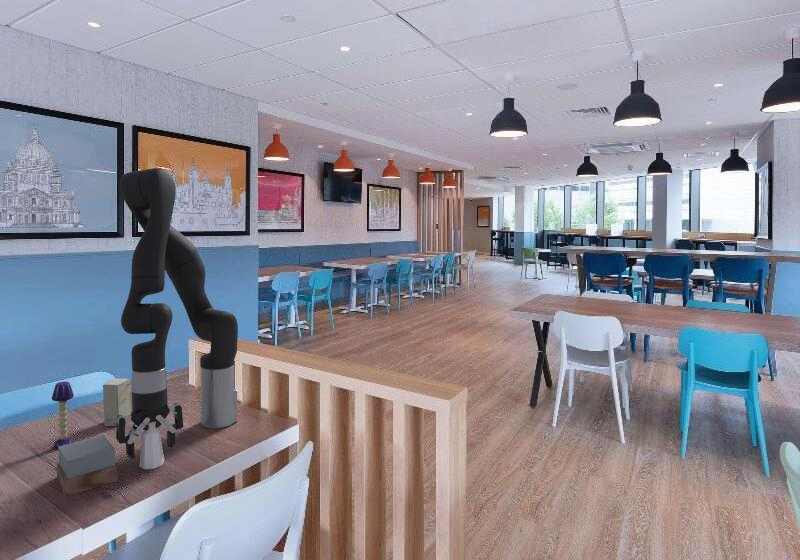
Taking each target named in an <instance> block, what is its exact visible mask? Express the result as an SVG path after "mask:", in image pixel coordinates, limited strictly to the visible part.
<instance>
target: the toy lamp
mask: <svg viewBox="0 0 800 560" xmlns="http://www.w3.org/2000/svg"><path fill="white" fill-rule="evenodd" d="M71 385H72V384H71V383H70V382H69V381H60V382H59V381H58V382H57V383H56V384H55V385H54V388H53V392H52V396H51V400H52V401H54V402H58V410H59V411H58V415H59V417H58V421H59V424H58V428H59V429H58V434H59V435H58V439H57V440H55V442H54V444H53V449H55V450H58V447H59V446H63V445H67V444H71V443H74V441H73V439H71V438H70V437H68V433H67V432H68V428H67V427H68V417H67V414H68V410H67V409H68V404H67V403H68V401H70V400H71V399H74V396H75V395H74V391H73V389H72V386H71Z"/></svg>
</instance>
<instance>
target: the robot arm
mask: <svg viewBox="0 0 800 560" xmlns="http://www.w3.org/2000/svg"><path fill="white" fill-rule="evenodd" d="M119 189H120V194H121V196H122V199H123V201H124V202H125V204H126V206H127V208H128V209H129V211H130V212H131V213H132V215H133V216H134V218H135V219H136V222H138V224H139V225H140V227H141V228H142V230H143V233H142V235H141V236H140V238H139V241H138V243H137V245H136V246H135V249H134V251H133V254H132V258H131V273H130V274H131V276H130V277H131V279H130V281H131V282H130V288H129V293H128V297H127V300H126V302H125V305H124V308H123V311H122V314H121V317H120V318H121V319H120V324H121V328H122V329H123V330H124V332H125V333H126V334H129V335H145V334H148V335H149V334H151V335H152V334H154V335H155V337H154V338H153V339H151V340H148V341H145V342H140V343H137V344H134V345H133V347H132V348H131V377H130V378H131V381H130V382H131V389H130V390H131V408H132V409H131V415H128V416H122V415H119V416H117V426H115V429H116V430H115V431H116V433H115V434H116V435H115V439H116V440H117V442H118V444H120V445H121V444H125V453H126V455H127V457H128V458H130V459H131V460H132V459H135V458H136V453H135V452H136V450H135V446H136V445H135V440H136V438H137V437H138V436H140V434H142V433H143V431H144V430H145V431H146V430H149V429H148V428H149V426H148V423H151V422H156V424H155V425H156V428H157V429H159V428H160V426H164V427H165V428H166V429H167V431H166V441H167V442H166V444H167V447H168V448H169V449H171V448H174V445H175V444H176V433H177V431H178V430H182V429H183V428H184V417H183V407H182V406H181V405H180V404H179V402H175V403H173V405H170V406H169V405H168V376H167V369H166V347H167V345H166V344H167V340H168V339H167V338H168V336H169V333H170V332H169V331H170V329H171V326H172V322H173V311H172V308H171V307H170V306H169V305H168V304H166V303H162V302H161V303H160V302H159V303H158V302H155V303H154V302H153V303H141V302H142V301H143V299H144V298H145V297H148V296H149V295H151V296H152V295H156V294H159V293H162V292H163V291H164V290H165V283H166V282H165V281H166V280H165V277H166V275H167V277H169V279H170V281H171V283H172V284H173V287H174V289H175V292H176V293H177V295H178V297H179V298H180V301H181V302H182V305H183V307H184V309H185V312H186V314H187V317H188V319H189V322H190V325H191V327H192V329H193V332H194V334H195V335H196V336H197V338H199V339H201V340H202V341H206V342H208V343H209V342H210V348H209V350H210V351H209V352H208V353H204V354H203V355H201V357H200V360H199V362H200V364H199V367H200V369H199V372H200V373H199V374H200V415H201V416H200V421H201V422H200V423H201V426H202V427H204V428H207V429H222V428H225V427H228V426H231V425H232V424H234V423H236V422H237V423H238V421H239V420H238V419H239V418H238V416H239V415H238V390H237V389H236V388H235V359H236V356H237V353H238V338H239V337H238V335H239V325H238V320H237V317H236V316H235V315H234V314H233V313H232V312H230V311H225V310H219V309H215V308H214V307H213V305H212V303H211V302H210V300H209V298H208V296H207V293H206V289H205V283H206V269H205V265H204V262H203V260H202V258H201V255H200V253H199V252H198V249H197V248H196V246H195V245H194V243H192V241H191V240H190V239H188V238H187V237H186V236H185V235H183V234H182V233H181V232H180V231H179V230H177V229H176V228H175V227H173V226H172V225H171V224H172V218H173V212H174V208H175V203H176V196H177V195H176V194H177V192H176V191H177V189H176V183H175V180H174V178H173V176H172V174H171V173H170V172H169V171H168V170H166V169H164V168H162V167H153V168H148V169H147V168H146V169H140V170H136V171H135V170H134V171H130V172H126V173H124V174H123V175H121V178H120V180H119ZM165 272H166V273H165ZM170 412H171V414H173V417H174V423H173V424H171V423H170V422H169V421H168V420H167V417H168V415H169V414H170ZM130 421H131V422H132V423H133V424H132V425H131V427H129V431H128V433H127V434H126V427H127V426H128V424H129V423H130Z"/></svg>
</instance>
